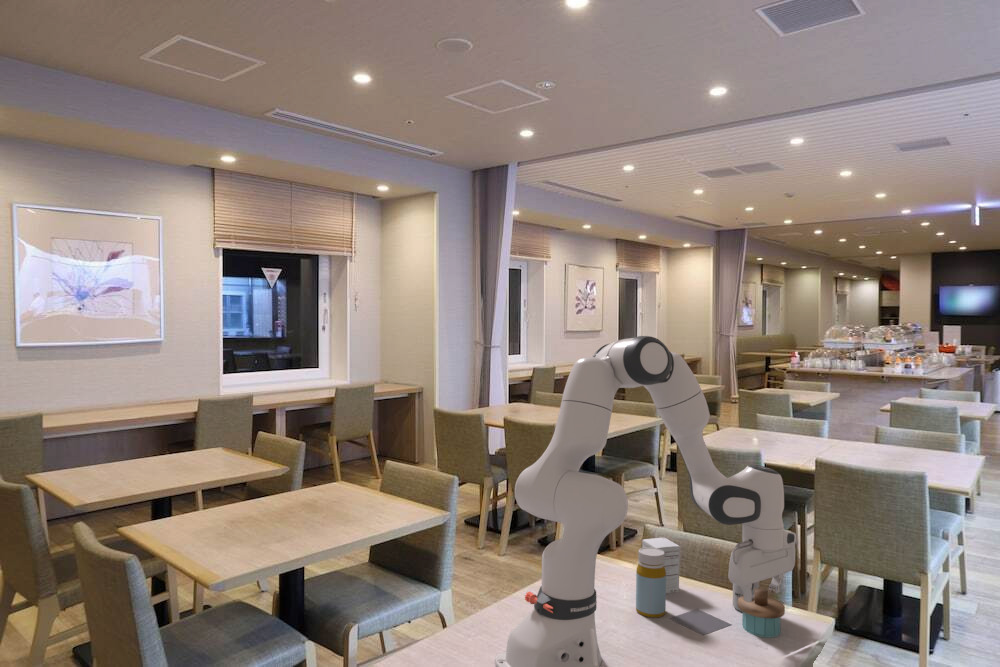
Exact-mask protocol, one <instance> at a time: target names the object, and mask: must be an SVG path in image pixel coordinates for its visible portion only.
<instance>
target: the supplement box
mask: <svg viewBox="0 0 1000 667" xmlns="http://www.w3.org/2000/svg"><path fill="white" fill-rule="evenodd" d="M641 541H642V543H641V545H642V547H641V548H646V547H651V548H657V549H660V550H662V551H664V554H665V556H664V567H665V570H666V594H671V593H677V592H678V593H679V592H680V562H681V561H680V559H681V558H680V556H681V555H680V554H681V553H680V552H681V546H680V545H678V544H677V543H675V542H673V541H672V540H669V538H666V537H654V538H646V539H645V538H644V539H642V540H641Z"/></svg>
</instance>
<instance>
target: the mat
mask: <svg viewBox="0 0 1000 667" xmlns="http://www.w3.org/2000/svg"><path fill="white" fill-rule="evenodd" d="M668 619H670V620H671V621H673V622H676V623H677V624H679V625H681V626H683V627H686V628H687V629H689V630H692V631H693V632H695V633H698V634H700V635H701V636H705V635H708V634H711V633H713V632H716V631H719V630H722V629H725V628H727V627H730V626H732V623H730V622H727V621H726V620H723V619H720V618H718V617H716V616H714V615H711V614H709V613H707V612H705V611H703V610H702V609H701V610H700V609H699V608H696V609H693V610H690V611H687V612H684V613H680V614H678V615H675V616H672V617H669V618H668Z"/></svg>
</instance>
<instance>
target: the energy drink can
mask: <svg viewBox="0 0 1000 667" xmlns="http://www.w3.org/2000/svg"><path fill="white" fill-rule="evenodd" d="M737 548H738V547H737ZM756 588H760V581H759V582H756V583H753V584H752V588H750V589H751V592H752V593H753V594H754V595H755V589H756ZM741 596H744V593H743V591H742V589H741V587H740V586H738V585H736V584H733V583H732V606H733V607H734V609H735V610H736V611H738V612H741V613H743V611H742V610H740V609H739V607H738V598H739V597H741Z"/></svg>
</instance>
